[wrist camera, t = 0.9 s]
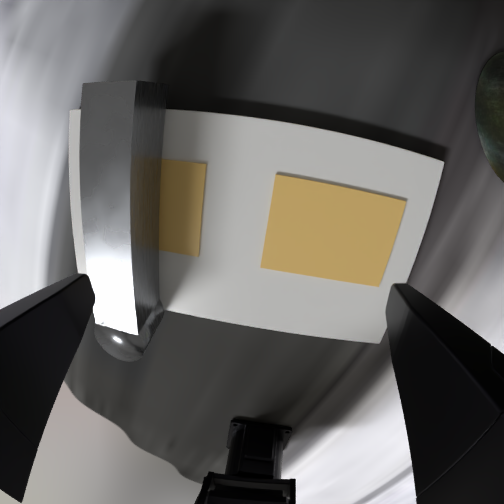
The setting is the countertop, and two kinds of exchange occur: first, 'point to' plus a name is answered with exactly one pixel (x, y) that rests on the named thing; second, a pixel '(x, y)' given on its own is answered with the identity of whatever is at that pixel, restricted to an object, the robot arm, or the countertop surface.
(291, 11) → the countertop surface
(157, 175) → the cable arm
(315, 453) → the countertop surface
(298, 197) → the label panel
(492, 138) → the mug
